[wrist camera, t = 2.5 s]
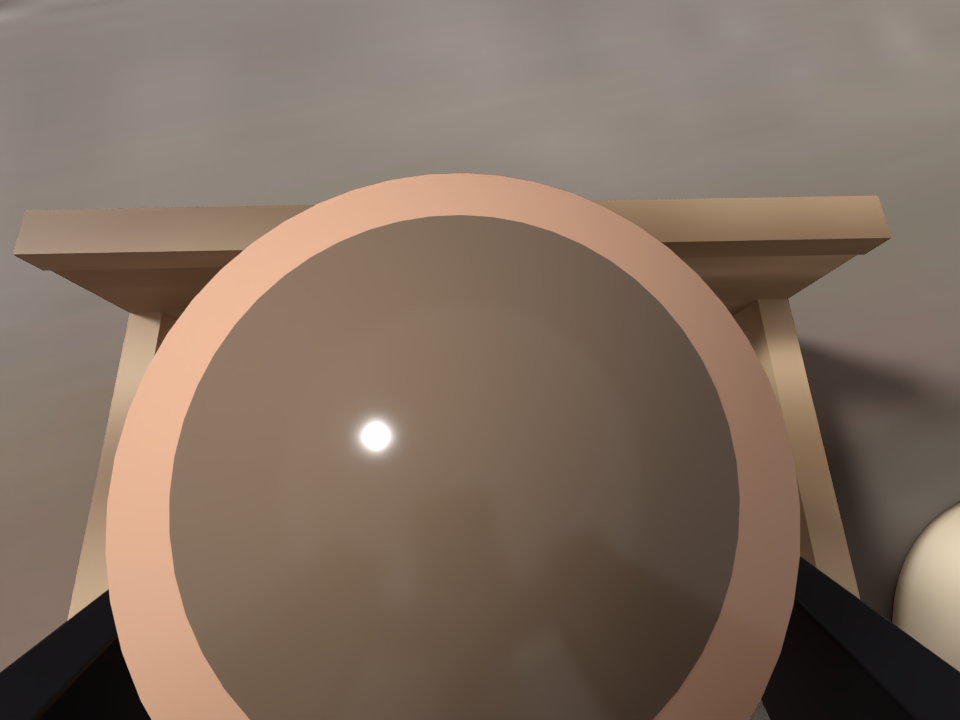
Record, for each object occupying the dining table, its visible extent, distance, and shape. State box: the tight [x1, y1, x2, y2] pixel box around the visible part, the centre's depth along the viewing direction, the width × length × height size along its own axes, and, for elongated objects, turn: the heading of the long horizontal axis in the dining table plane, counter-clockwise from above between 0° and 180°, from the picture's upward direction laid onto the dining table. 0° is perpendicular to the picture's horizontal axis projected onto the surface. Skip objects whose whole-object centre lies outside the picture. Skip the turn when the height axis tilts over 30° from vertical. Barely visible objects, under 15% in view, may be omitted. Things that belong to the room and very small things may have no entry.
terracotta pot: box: [105, 173, 800, 720], centre depth 11 cm, size 7×7×13 cm
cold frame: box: [13, 196, 891, 621], centre depth 13 cm, size 12×21×8 cm, turn 92°
